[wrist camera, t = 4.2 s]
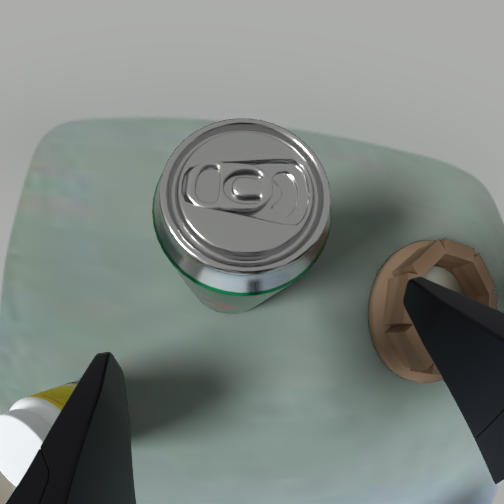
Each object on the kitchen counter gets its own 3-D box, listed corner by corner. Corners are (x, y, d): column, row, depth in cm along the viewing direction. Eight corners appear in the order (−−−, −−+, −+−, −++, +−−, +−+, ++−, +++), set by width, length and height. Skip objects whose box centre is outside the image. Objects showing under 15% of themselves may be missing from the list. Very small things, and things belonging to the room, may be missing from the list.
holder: (486, 322, 20) (516, 319, 17) (410, 408, 18) (439, 418, 15) (431, 220, 22) (458, 205, 18) (340, 295, 20) (363, 288, 16)
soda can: (271, 315, 19) (349, 294, 7) (186, 311, 18) (131, 283, 7) (272, 234, 20) (336, 118, 8) (192, 230, 20) (161, 103, 8)
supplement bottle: (49, 383, 16) (-31, 403, 8) (109, 376, 17) (40, 402, 9) (70, 449, 15) (5, 497, 7) (131, 446, 16) (82, 507, 8)
